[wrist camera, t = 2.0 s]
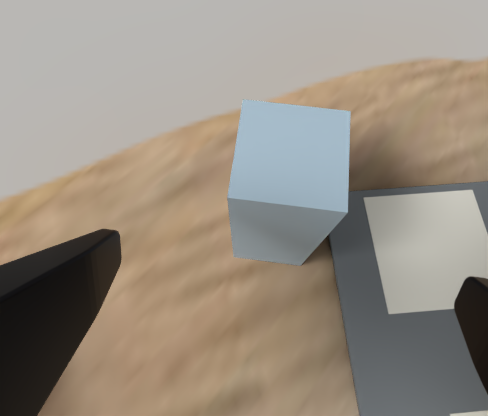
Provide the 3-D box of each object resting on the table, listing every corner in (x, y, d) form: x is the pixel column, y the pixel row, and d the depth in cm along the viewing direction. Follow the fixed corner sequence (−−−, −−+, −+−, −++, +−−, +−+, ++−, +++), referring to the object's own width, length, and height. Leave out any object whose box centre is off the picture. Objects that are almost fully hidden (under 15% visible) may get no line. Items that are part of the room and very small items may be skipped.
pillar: (300, 265, 20) (348, 212, 11) (233, 257, 20) (227, 197, 11) (305, 203, 21) (350, 111, 12) (242, 195, 22) (243, 99, 13)
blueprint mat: (642, 575, 15) (650, 580, 15) (391, 603, 15) (395, 610, 15) (496, 182, 22) (500, 180, 22) (321, 195, 22) (322, 193, 21)
